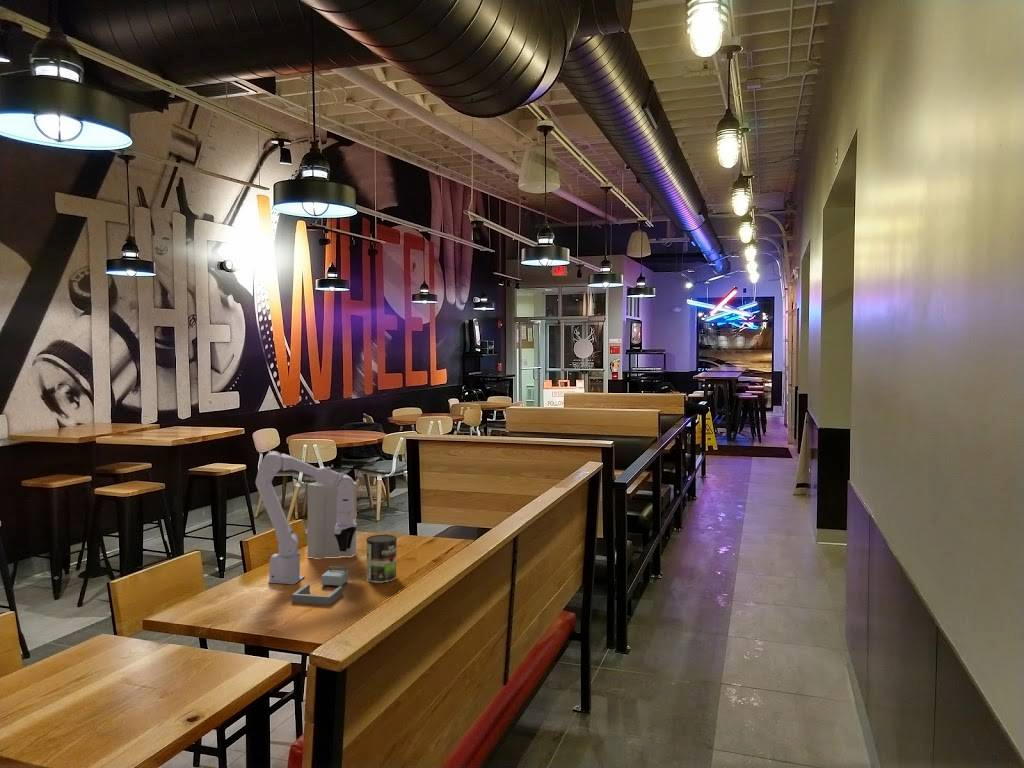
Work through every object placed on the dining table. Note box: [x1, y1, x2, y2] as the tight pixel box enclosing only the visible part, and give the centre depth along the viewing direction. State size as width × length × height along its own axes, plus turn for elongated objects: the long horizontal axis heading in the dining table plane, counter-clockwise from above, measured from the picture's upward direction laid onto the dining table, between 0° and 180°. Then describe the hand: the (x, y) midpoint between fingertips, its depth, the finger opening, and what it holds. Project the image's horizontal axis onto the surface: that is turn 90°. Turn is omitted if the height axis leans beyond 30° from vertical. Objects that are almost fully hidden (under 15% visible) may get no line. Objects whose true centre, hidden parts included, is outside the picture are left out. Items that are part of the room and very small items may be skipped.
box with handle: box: [320, 565, 349, 587], centre depth 231 cm, size 7×6×5 cm
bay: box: [291, 583, 344, 606], centre depth 217 cm, size 12×10×2 cm
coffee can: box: [365, 534, 398, 584], centre depth 237 cm, size 10×10×14 cm
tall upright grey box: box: [307, 480, 358, 558], centre depth 266 cm, size 19×15×28 cm
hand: (345, 549), depth 239 cm, fingers open, 3 cm apart
